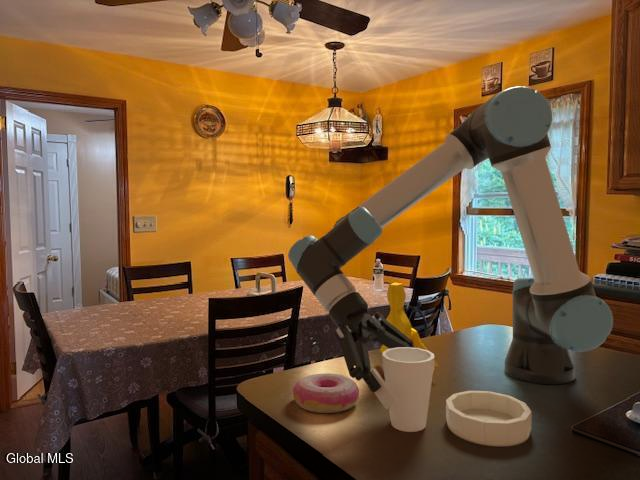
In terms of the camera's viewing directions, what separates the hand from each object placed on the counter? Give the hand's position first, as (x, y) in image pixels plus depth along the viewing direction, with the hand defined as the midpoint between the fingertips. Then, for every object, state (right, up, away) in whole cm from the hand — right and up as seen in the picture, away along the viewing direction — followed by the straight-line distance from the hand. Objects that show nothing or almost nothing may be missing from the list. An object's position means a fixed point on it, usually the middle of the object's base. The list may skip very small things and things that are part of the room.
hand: (410, 392), depth 86 cm
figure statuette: (+3, -5, +29) cm, 29 cm away
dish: (+14, -6, -1) cm, 15 cm away
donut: (-15, -6, +11) cm, 20 cm away
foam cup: (0, -6, +1) cm, 6 cm away
